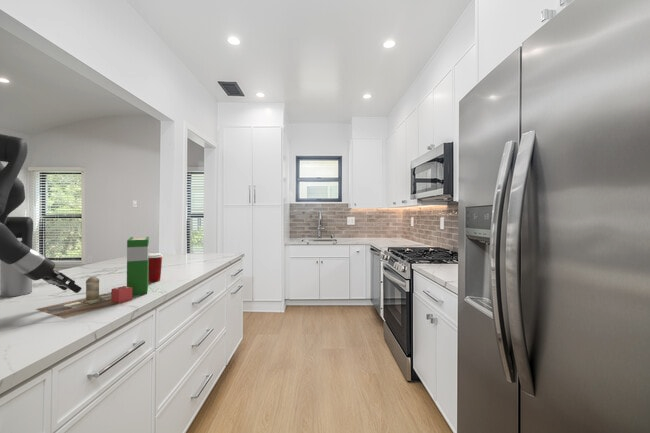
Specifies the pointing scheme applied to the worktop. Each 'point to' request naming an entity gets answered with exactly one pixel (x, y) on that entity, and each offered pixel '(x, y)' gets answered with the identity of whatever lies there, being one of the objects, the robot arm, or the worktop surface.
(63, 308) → the game board
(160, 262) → the paper cup
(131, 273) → the hardback book
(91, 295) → the birch pawn
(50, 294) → the worktop surface
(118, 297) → the red die
